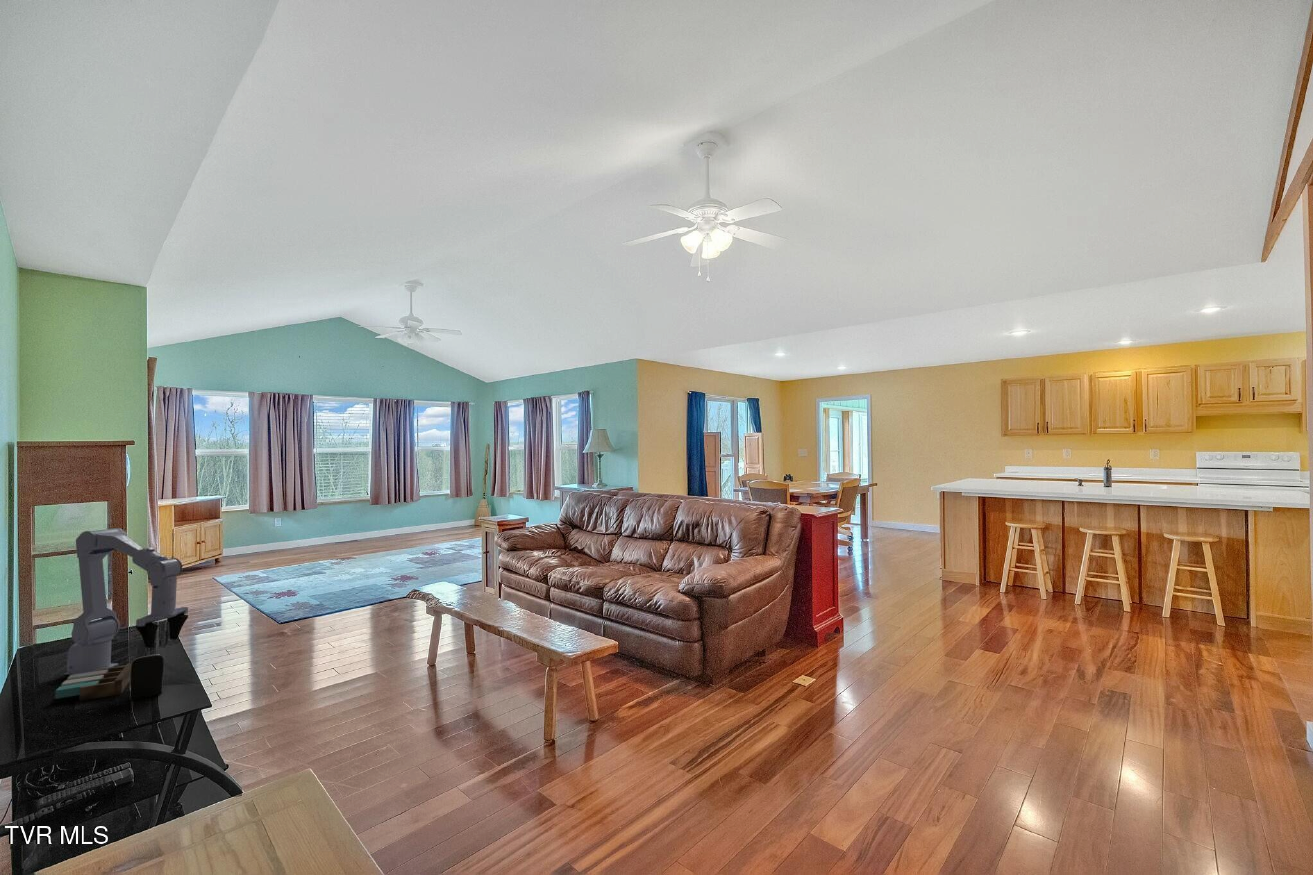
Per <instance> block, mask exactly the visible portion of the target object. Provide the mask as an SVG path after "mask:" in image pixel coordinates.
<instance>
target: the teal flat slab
mask: <svg viewBox="0 0 1313 875" xmlns="http://www.w3.org/2000/svg"><path fill="white" fill-rule="evenodd" d="M95 684H99V681H93V682H86V683H80V684H73V685H67V686H61V685H60V686H59V687H58V688H56V690H55V695H54V696H55V697H54V699H56V700H57V699H63V698H69V697H75V696H80V687H82V686H89V685H95Z"/></svg>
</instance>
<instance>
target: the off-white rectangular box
mask: <svg viewBox="0 0 1313 875" xmlns="http://www.w3.org/2000/svg"><path fill="white" fill-rule="evenodd" d="M102 678H104V675H99V676H93V677H86V678H80V679H73V680H67V679H66V680H64V681H63V682H61V685H60V686H67V685H73V684H80V683H85V681H89V680H95V679H102Z"/></svg>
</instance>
